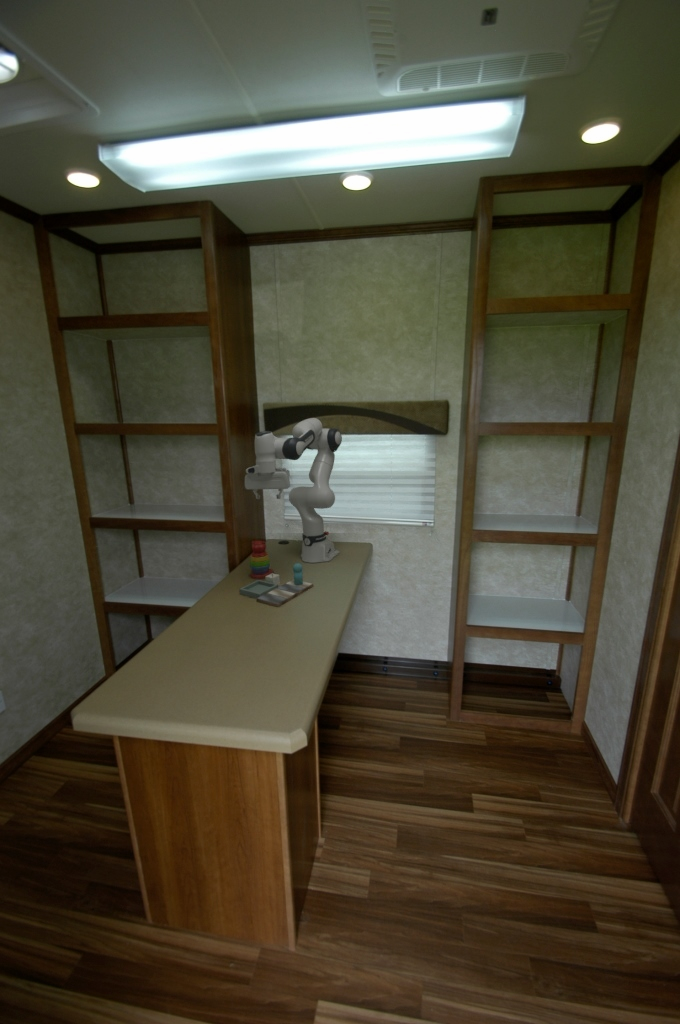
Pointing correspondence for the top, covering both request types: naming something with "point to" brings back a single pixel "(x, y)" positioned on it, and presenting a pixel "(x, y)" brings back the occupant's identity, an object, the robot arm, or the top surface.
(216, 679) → the top surface
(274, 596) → the board
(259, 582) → the tray
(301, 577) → the pawn
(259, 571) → the stacking bear
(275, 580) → the die
